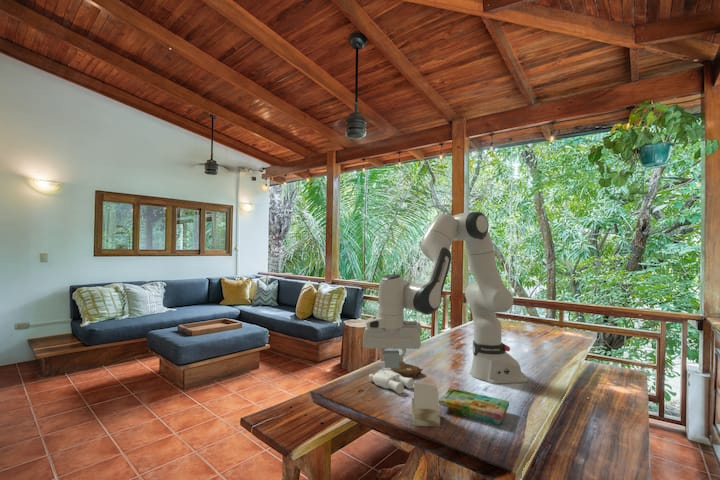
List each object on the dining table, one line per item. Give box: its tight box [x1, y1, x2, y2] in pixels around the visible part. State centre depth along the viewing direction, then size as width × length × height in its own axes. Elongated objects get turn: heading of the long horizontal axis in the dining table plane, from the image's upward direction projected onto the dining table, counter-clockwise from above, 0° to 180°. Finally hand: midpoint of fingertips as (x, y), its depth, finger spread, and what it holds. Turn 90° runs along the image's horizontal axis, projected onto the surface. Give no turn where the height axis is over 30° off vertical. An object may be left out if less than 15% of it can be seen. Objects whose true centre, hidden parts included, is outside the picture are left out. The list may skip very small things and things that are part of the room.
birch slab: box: [411, 397, 441, 427], centre depth 110 cm, size 8×8×5 cm
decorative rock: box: [390, 360, 423, 380], centre depth 150 cm, size 11×4×15 cm
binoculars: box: [368, 369, 415, 395], centre depth 137 cm, size 10×16×5 cm, turn 44°
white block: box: [413, 382, 439, 410], centre depth 110 cm, size 7×7×5 cm
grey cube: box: [383, 349, 400, 369], centre depth 121 cm, size 5×5×5 cm
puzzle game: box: [438, 387, 510, 426], centre depth 116 cm, size 12×5×20 cm
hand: (391, 360), depth 121 cm, fingers closed on grey cube, 5 cm apart
